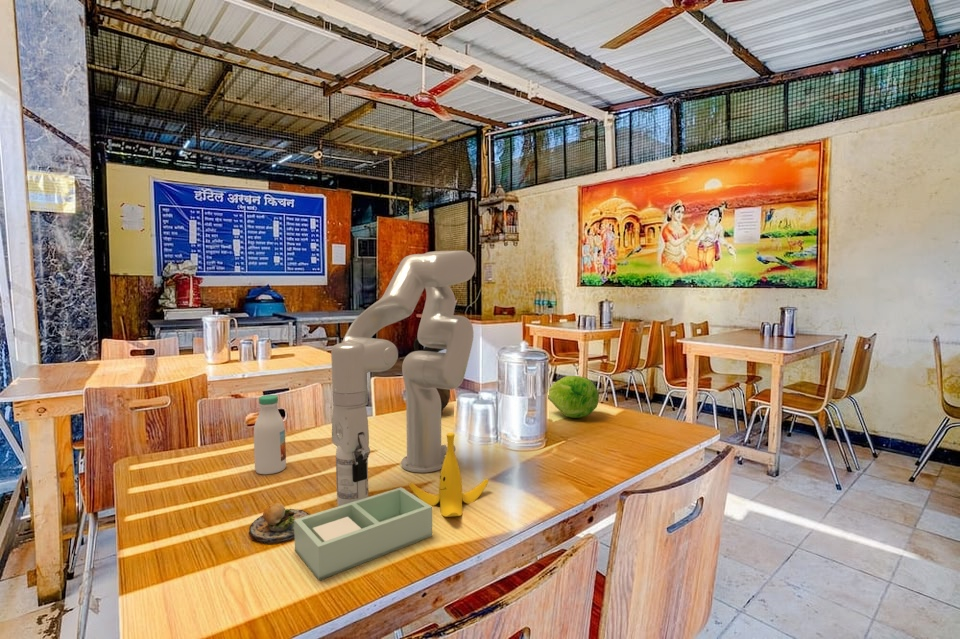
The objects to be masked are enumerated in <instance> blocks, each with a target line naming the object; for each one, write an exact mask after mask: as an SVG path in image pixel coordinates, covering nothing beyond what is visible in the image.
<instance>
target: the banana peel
mask: <svg viewBox="0 0 960 639" xmlns="http://www.w3.org/2000/svg"><path fill="white" fill-rule="evenodd" d="M446 442H447V446H446V447H447V453H446V455H445V459H444V462H443V466H442V469H440V475H439V483H438V494H432V493H430V492H427V491H424V490H423V489H422V488H420V487H418V486H417V485H415V484H414V483H413V482H412V481H411V482H410V483H408V486H409V488H410V490H411V491H412V493H414V494H415V496H416V497H417V498H419V499H421V500H422V501H424V502H425V503H427V504H428V505H430V506H431V507H433V506H434V507H435V506H436V505H437V504H439V506H440V507H439V508H440V513H441V516H442V517H447V518H448V517H449V518H450V517H462V515H463V514H464V513H463V512H464V510H463V503H465V504H468V505H470V504H472V503H475V501H477V500H478V498H479V497H480V496H481V495H482V494H483V492H484V490H485V489H486V487H487V485H488V483H489V479H487V478H485V479H484V480H482V481H481V483H479V484H478V485H477V486H475V487H474V488H472V489H471V490H468V491H467V492H464V493H463V483H462V475H461V470H460V466H459V462H458V459H457V456H456V455H455V454H456V453H455V452H454V446H455V445H454V444H455V443H454V442H455V432H448V433H446Z"/></svg>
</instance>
